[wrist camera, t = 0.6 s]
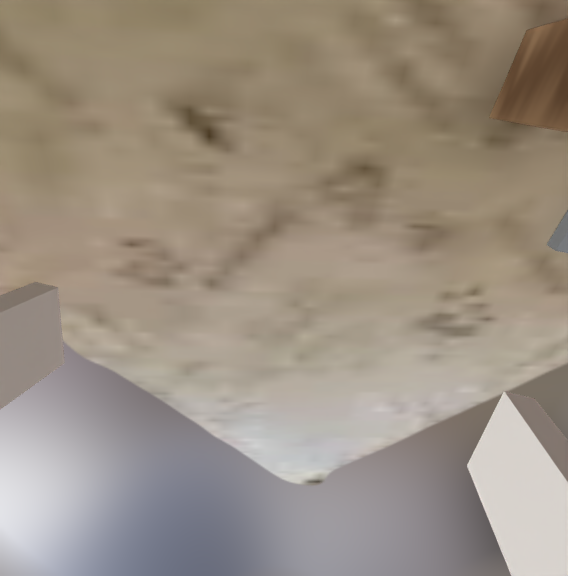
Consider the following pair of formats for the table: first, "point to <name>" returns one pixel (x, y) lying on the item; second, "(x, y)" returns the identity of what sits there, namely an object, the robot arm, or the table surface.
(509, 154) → the table surface
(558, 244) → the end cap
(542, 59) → the wooden slat
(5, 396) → the robot arm
